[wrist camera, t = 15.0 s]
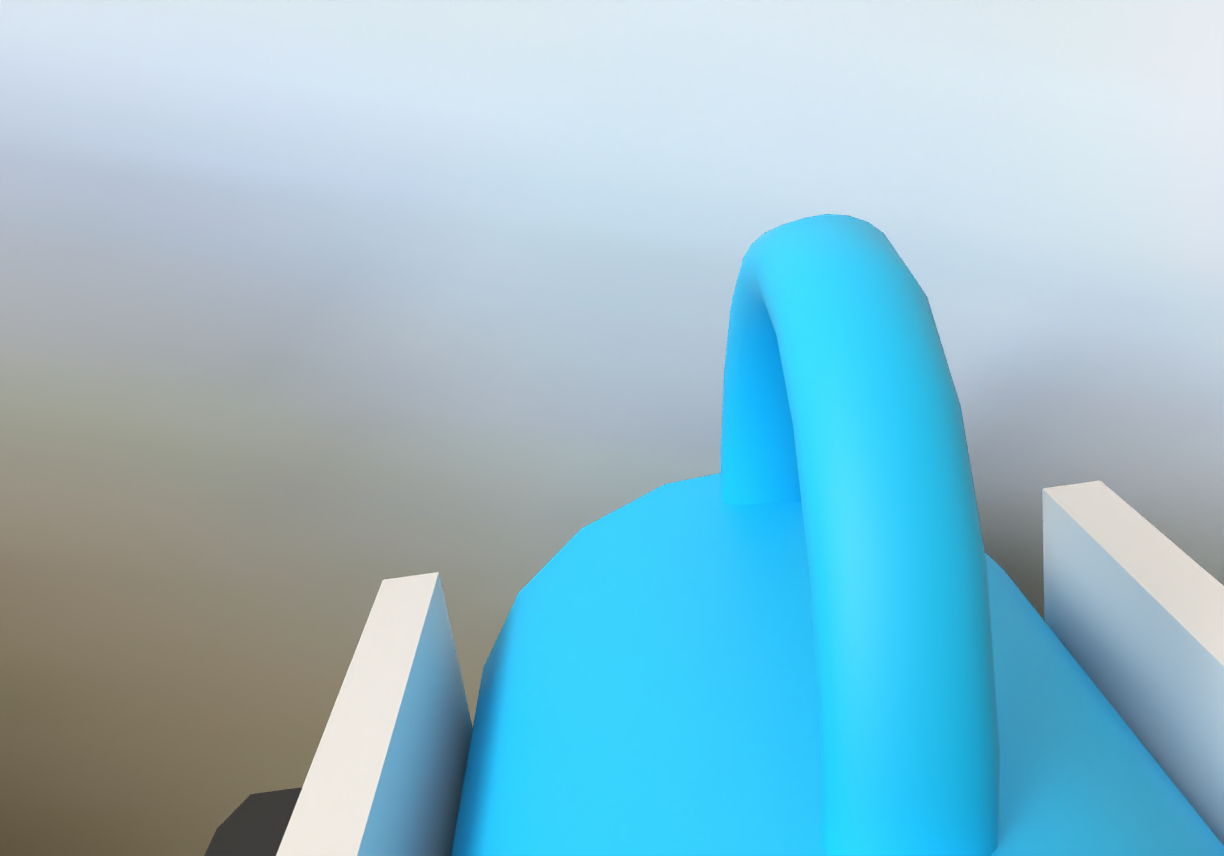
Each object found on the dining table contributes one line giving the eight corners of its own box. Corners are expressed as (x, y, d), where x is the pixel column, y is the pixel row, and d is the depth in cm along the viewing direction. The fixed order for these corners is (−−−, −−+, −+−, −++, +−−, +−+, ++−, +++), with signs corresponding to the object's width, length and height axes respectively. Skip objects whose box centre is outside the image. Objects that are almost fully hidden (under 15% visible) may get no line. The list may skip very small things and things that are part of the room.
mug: (1023, 941, 17) (1379, 1674, 9) (500, 968, 17) (425, 1724, 9) (1097, 150, 13) (1810, 290, 6) (419, 184, 13) (178, 371, 5)
